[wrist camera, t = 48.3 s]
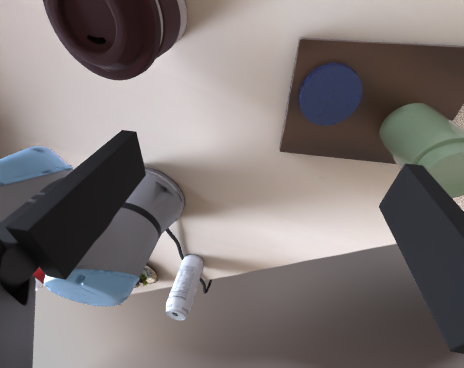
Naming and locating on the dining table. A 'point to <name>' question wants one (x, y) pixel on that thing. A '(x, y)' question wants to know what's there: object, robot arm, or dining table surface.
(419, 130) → the jar
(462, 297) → the robot arm
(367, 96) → the board
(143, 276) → the burger
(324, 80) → the lid
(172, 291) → the energy drink can
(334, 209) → the dining table surface
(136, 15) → the coffee cup
